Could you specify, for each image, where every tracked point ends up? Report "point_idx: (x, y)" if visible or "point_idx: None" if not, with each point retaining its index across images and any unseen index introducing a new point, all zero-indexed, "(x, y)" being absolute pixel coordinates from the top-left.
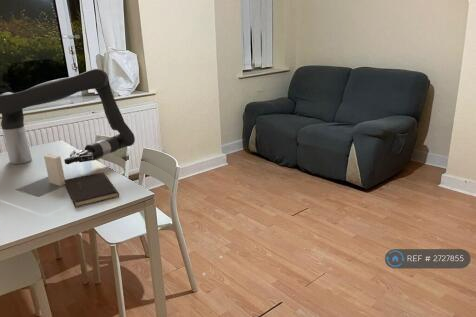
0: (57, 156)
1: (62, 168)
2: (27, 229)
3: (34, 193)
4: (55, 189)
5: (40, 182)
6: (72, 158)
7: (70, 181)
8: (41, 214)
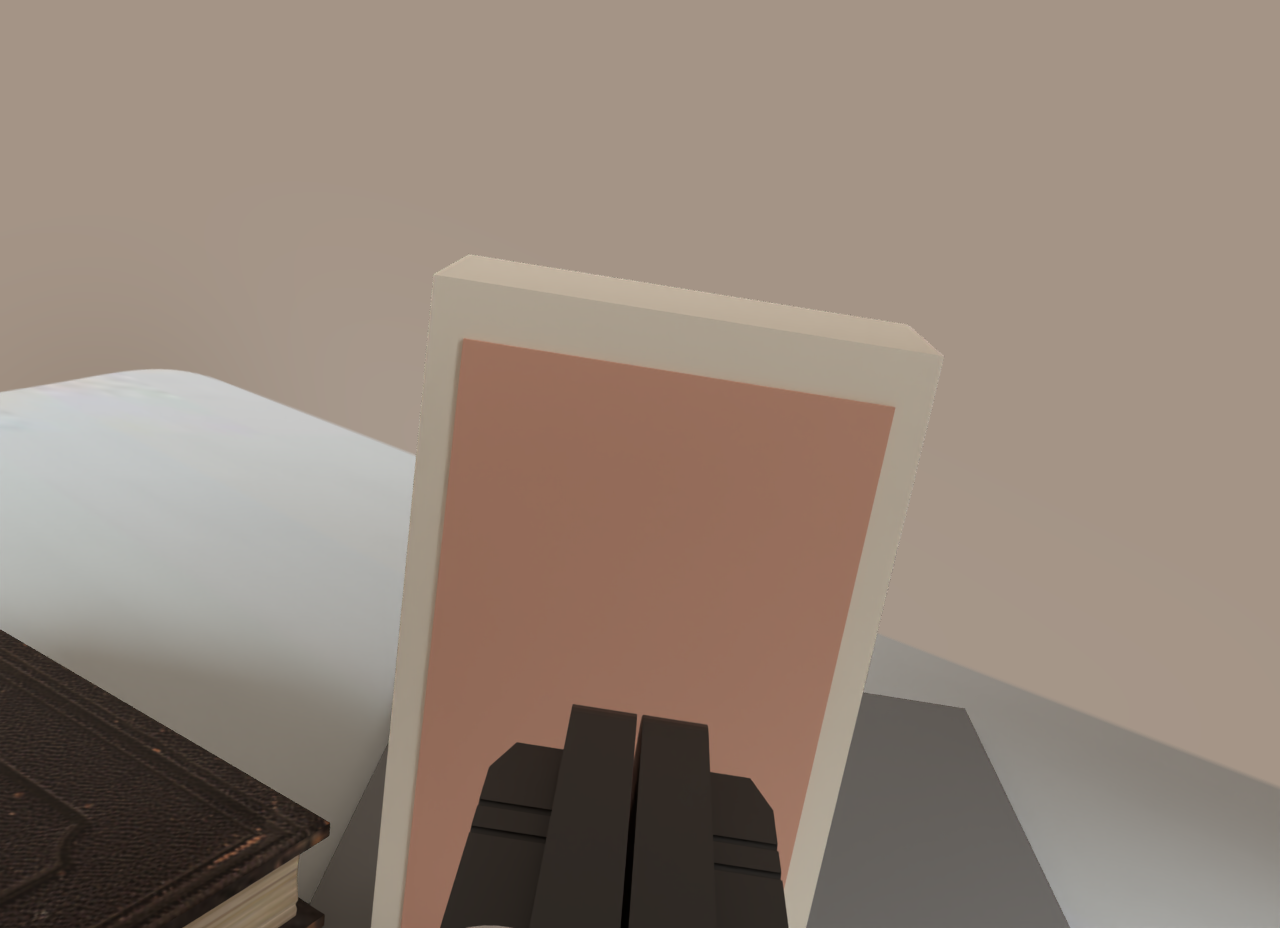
0: (515, 281)
1: (402, 618)
2: (110, 405)
3: None
4: (382, 778)
5: (938, 913)
6: (534, 904)
7: (113, 794)
8: (132, 487)
